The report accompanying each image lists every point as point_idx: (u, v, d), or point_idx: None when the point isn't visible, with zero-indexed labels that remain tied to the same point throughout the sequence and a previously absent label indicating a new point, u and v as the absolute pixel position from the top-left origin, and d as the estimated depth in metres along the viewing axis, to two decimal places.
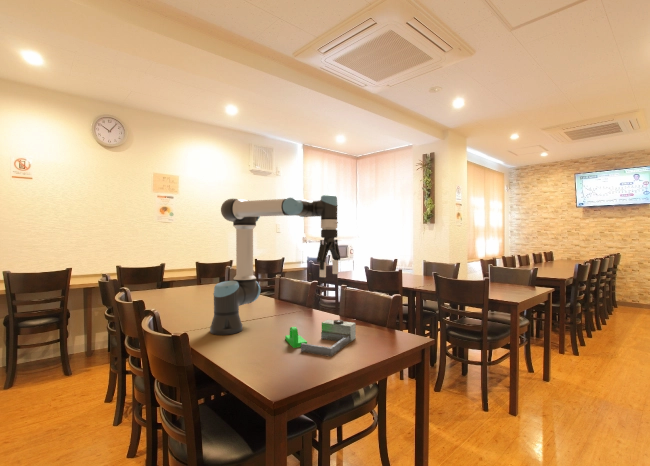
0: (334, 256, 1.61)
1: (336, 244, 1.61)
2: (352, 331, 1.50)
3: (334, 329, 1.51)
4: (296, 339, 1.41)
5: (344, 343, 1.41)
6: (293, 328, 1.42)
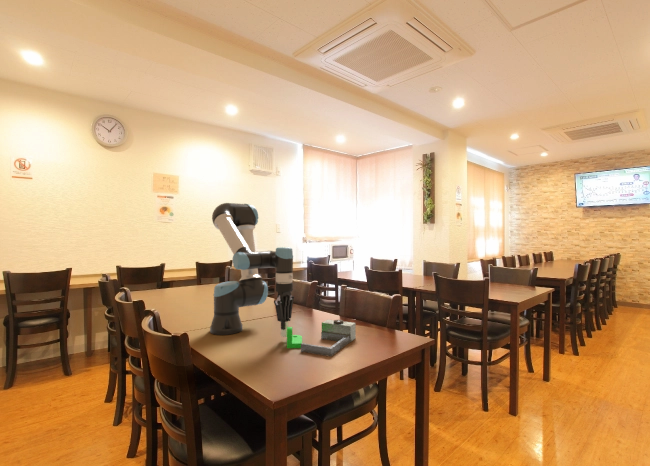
0: None
1: (291, 300, 1.53)
2: (352, 331, 1.50)
3: (334, 329, 1.51)
4: (290, 339, 1.40)
5: (344, 343, 1.41)
6: (288, 328, 1.42)
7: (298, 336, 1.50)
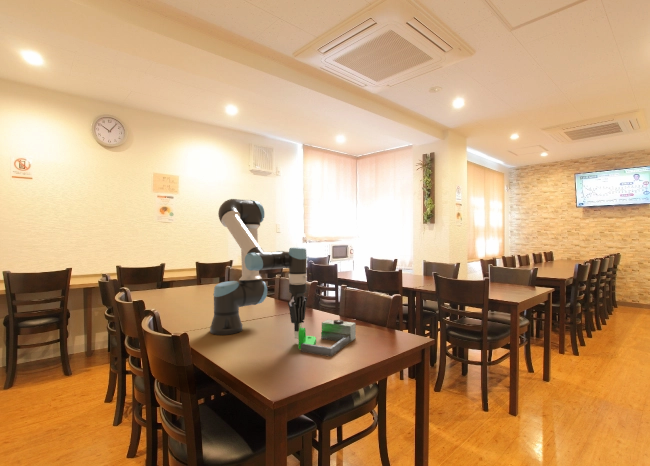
0: None
1: (304, 301, 1.50)
2: (352, 331, 1.50)
3: (334, 329, 1.51)
4: (301, 340, 1.39)
5: (344, 343, 1.41)
6: (300, 329, 1.40)
7: (312, 337, 1.48)
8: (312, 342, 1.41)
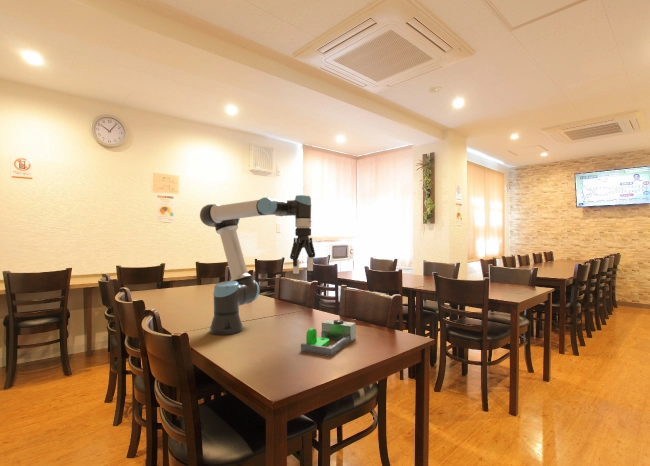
0: (309, 254, 1.68)
1: (310, 242, 1.68)
2: (352, 331, 1.50)
3: (334, 329, 1.51)
4: (309, 341, 1.38)
5: (344, 343, 1.41)
6: (309, 329, 1.40)
7: (326, 339, 1.46)
8: (321, 344, 1.39)
